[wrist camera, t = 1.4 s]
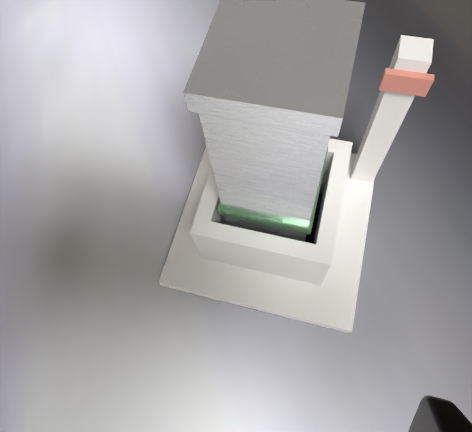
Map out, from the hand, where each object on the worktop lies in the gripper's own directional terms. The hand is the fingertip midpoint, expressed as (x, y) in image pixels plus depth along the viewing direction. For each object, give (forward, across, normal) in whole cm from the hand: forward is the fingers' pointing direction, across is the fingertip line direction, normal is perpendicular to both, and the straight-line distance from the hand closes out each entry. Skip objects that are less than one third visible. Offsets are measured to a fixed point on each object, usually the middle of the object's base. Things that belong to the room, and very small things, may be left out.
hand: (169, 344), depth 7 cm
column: (+16, 0, +4) cm, 16 cm away
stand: (+16, 0, +4) cm, 16 cm away
